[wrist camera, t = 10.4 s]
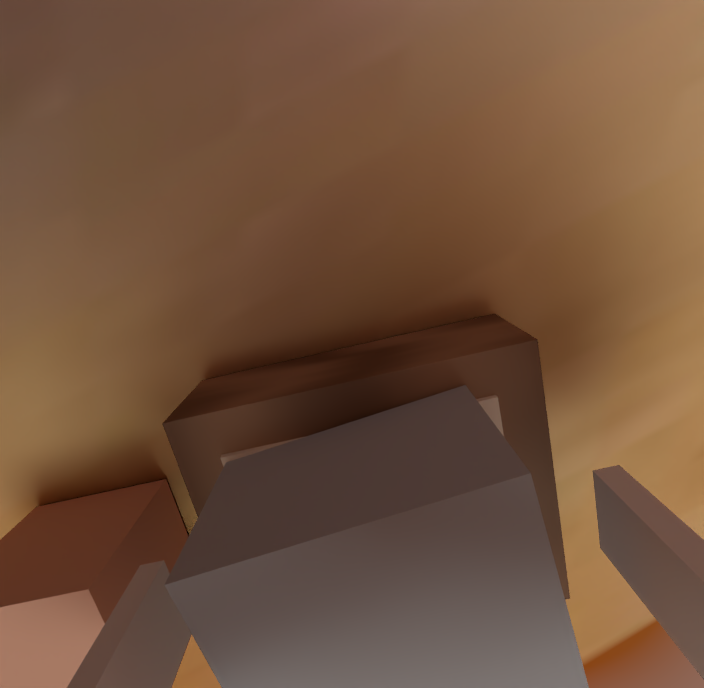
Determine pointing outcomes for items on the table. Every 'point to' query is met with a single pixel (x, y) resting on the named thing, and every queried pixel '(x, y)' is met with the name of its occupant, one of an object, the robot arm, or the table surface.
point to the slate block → (379, 561)
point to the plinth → (373, 402)
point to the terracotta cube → (76, 576)
